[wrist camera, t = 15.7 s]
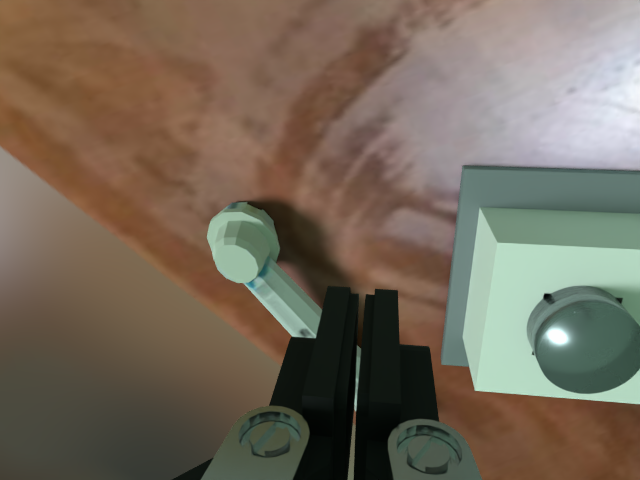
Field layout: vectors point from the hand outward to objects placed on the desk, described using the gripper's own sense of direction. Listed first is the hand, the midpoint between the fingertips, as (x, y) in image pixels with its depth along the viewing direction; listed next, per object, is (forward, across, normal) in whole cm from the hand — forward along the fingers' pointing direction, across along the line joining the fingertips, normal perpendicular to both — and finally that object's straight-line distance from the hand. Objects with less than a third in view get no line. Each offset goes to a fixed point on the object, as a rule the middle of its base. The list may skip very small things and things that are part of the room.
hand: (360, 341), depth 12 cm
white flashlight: (+30, +5, +17) cm, 34 cm away
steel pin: (+27, -14, +12) cm, 33 cm away
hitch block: (+29, -14, +12) cm, 34 cm away
